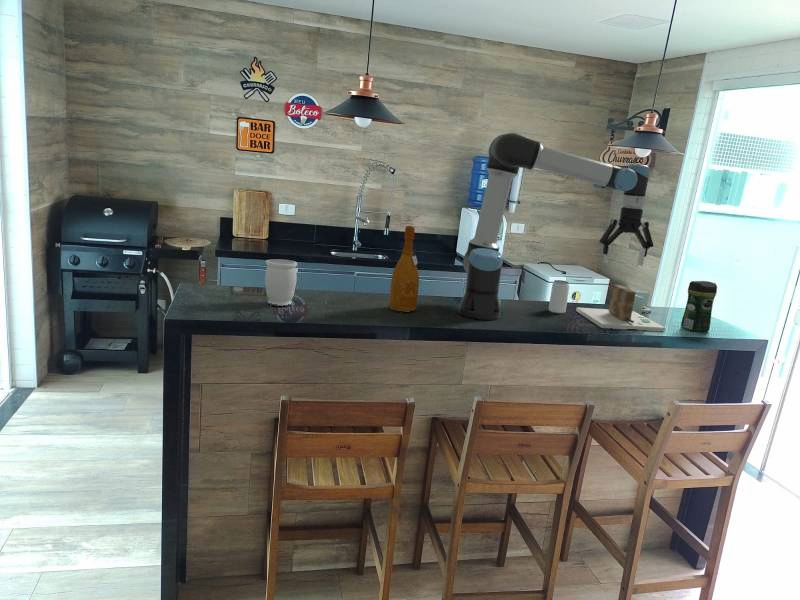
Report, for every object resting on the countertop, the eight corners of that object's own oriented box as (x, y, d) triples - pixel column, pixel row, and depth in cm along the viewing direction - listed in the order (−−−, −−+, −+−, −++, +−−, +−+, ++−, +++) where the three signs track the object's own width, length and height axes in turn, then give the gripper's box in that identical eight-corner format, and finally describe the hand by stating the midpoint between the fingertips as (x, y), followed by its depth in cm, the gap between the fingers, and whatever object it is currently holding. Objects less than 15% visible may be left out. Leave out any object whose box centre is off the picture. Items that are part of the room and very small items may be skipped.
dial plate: (601, 327, 212) (602, 323, 212) (576, 311, 235) (576, 306, 235) (664, 331, 215) (665, 327, 214) (633, 314, 238) (634, 310, 238)
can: (563, 310, 234) (568, 280, 232) (566, 314, 228) (571, 284, 226) (547, 308, 235) (551, 279, 232) (549, 312, 229) (554, 282, 226)
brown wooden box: (608, 312, 230) (613, 284, 228) (615, 312, 231) (620, 285, 228) (628, 323, 214) (633, 294, 212) (636, 324, 214) (641, 294, 212)
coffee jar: (695, 326, 228) (705, 279, 223) (712, 332, 220) (723, 283, 216) (676, 326, 224) (685, 278, 220) (692, 332, 217) (702, 283, 213)
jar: (263, 307, 199) (265, 263, 195) (264, 300, 209) (265, 258, 205) (295, 308, 201) (298, 265, 198) (294, 301, 211) (296, 259, 207)
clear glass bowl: (639, 316, 240) (642, 298, 238) (620, 308, 251) (623, 291, 249) (663, 316, 243) (667, 298, 241) (644, 309, 254) (648, 291, 253)
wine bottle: (397, 314, 206) (404, 227, 199) (384, 307, 214) (391, 224, 207) (421, 312, 211) (429, 228, 204) (407, 306, 219) (415, 224, 212)
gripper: (604, 205, 214) (595, 263, 219) (669, 210, 217) (659, 267, 222) (595, 204, 222) (587, 260, 226) (658, 209, 224) (649, 264, 229)
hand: (622, 264), depth 224 cm, fingers open, 13 cm apart
